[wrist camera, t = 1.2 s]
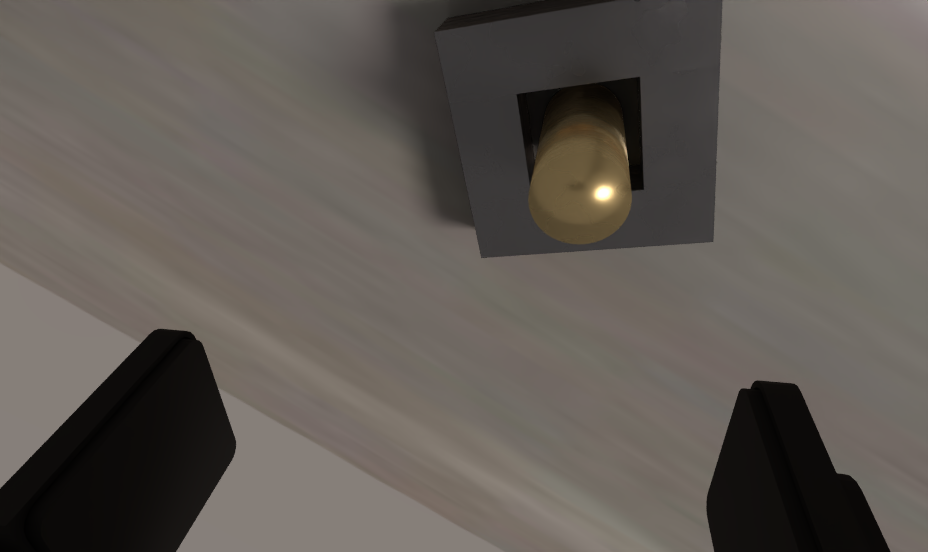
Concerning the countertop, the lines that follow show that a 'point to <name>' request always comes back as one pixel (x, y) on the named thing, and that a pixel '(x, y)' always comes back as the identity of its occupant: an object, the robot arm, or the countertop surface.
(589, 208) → the key peg
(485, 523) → the countertop surface
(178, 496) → the robot arm
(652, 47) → the grey square frame
